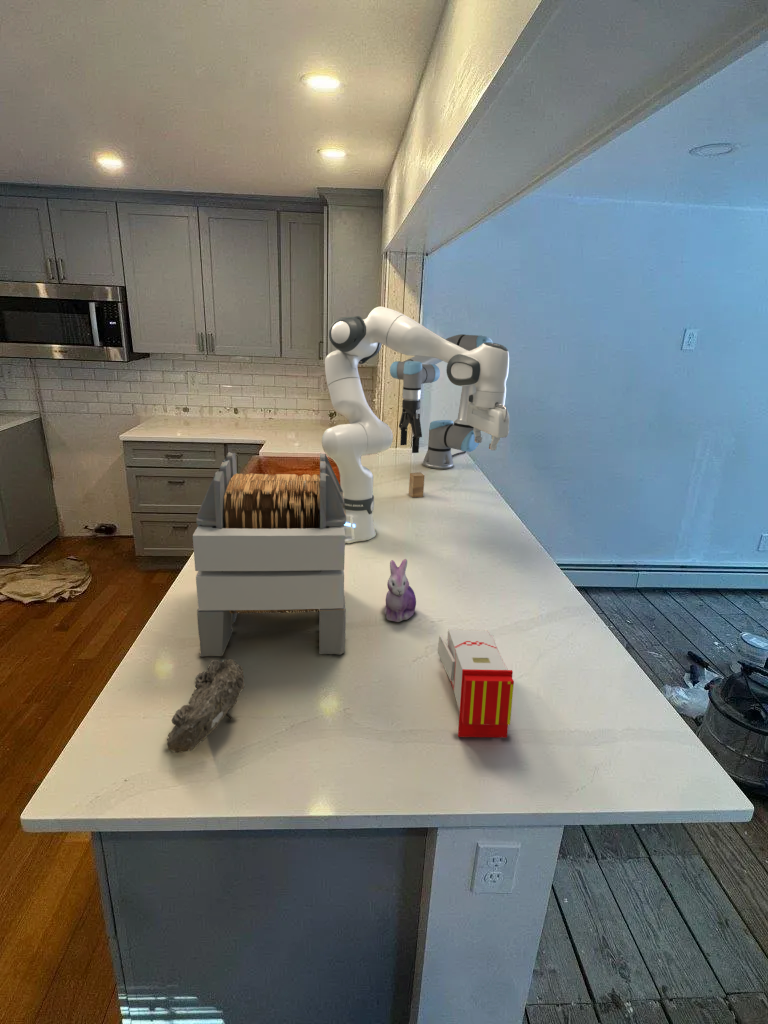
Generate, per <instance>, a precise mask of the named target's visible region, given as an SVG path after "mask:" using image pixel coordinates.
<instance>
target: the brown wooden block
mask: <svg viewBox="0 0 768 1024" xmlns="http://www.w3.org/2000/svg"><path fill="white" fill-rule="evenodd" d="M424 487H425V474H424V473H422V472H420V471H419V472H417V471H416V472H409V482H408V496H410V497H411V498H412V499H413V498H424V491H425V490H424V489H425V488H424Z"/></svg>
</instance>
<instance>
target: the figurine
mask: <svg viewBox="0 0 768 1024" xmlns="http://www.w3.org/2000/svg"><path fill="white" fill-rule="evenodd" d="M407 567H408V559H406V558H404V559H403V560H402V561H401V563H400V565H399V566H398V565H397V563H396V562H395V561H394V560H393V559H391V560H390V561H389V570H390V576H389V578H388V579H387V589H388V591H387V592H386V594H385V595H386V596H385V607H384V615H385V616H386V620H387V621H391V622H395V623H400V622H402V621H406V620H409V619H410V618H411V617H413V616H414V615H415V610H416V606H417V597H416V593H415V591H414V590H413V587H411V586H410V582H409V579H408V577H407V574H406V571H407Z"/></svg>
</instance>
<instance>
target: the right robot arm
mask: <svg viewBox="0 0 768 1024" xmlns="http://www.w3.org/2000/svg"><path fill="white" fill-rule="evenodd" d="M445 339H446V340H448V341H450V342H453V343H455V344H457V345H459V346H461V347H463V348H465V349H467V350H473V349H475V348H477V347H479V346H481V345H482V344H483V343H486V342H490V343H494V342H493V340H492V339H491V338H490V337H489V336H485V335H476V334H475V335H474V334H456V335H452V336H449V337H447V338H445ZM441 362H443V361H442V360H440V359H438V358H435V357H430V356H411V357H409V358H408V359H406V360H403V361H401V360H398V361H397V360H395V361H393V362H392V363H391V364H390V367H389V373H390V376H391V377H392V378H393V379H397V380H400V381H401V380H402V381H403V382H402V383H403V386H402V403H401V406H402V407H401V408H402V409H401V416H400V420H399V424H398V428H399V430H400V444H399V446H407V444H408V429H409V427H408V426H409V424H410V427H411V431H412V435H413V436H411V437H412V441H411V442H412V444H411V445H412V446H411V453H412V454H418V453H420V452H419V451H420V439H421V438H422V437H423V433H422V432H423V431H422V424H421V414H420V413H417V411H418V410H420V409H421V400H420V399H421V394H422V384H423V385H424V384H433V383H435V382H437V381H438V380H439V379H440V375H441V370H440V368H439V366H437V365H438V364H439V363H441ZM473 393H476V386H475V385H468V386H461V393H460V399H459V400H460V401H459V408H458V413H457V414H458V415H457V419H455V420H451V419H438V420H433V421H431V422H429V428H428V443H427V451H426V454H425V455H424V458H423V464H422V465H423V466H424V467H426V468H428V469H433V470H448V469H452V468H453V467H454V460H453V457H455V456H458V455H463V454H466V453H467V452H468V453H471V452H473V451H475V450H476V449H477V448H478V447H479V446H480V443H476V442H475V441H474V440H475V436H474V431H473V429H474V427H472V426H470V425H468V422H467V411H468V404H469V402H468V395H470V394H473ZM452 449H453V450H458V451H460V452H456V453H454V454H452Z"/></svg>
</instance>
